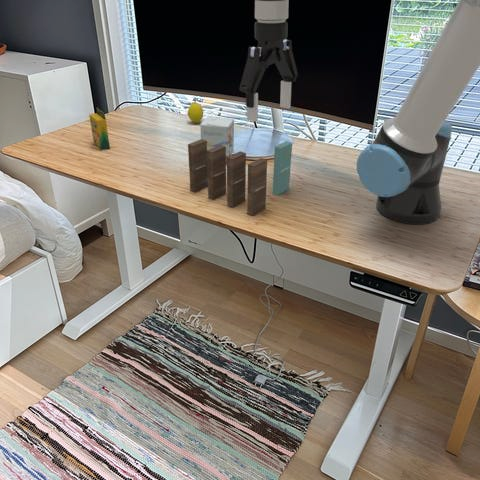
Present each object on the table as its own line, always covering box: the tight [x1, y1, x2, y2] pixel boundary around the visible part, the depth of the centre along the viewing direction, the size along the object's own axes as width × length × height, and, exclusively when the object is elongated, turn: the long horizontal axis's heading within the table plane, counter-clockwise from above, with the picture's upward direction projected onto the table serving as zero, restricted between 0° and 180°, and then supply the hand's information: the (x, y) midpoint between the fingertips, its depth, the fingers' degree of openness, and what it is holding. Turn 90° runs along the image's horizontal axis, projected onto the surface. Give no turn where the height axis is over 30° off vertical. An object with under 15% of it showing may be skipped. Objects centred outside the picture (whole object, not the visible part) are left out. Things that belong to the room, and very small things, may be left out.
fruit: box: [187, 101, 204, 124], centre depth 174 cm, size 6×6×8 cm
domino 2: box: [207, 145, 227, 201], centre depth 123 cm, size 2×5×13 cm, turn 140°
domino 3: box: [226, 151, 247, 209], centre depth 120 cm, size 2×5×13 cm, turn 140°
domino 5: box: [272, 140, 293, 196], centre depth 126 cm, size 2×5×13 cm, turn 140°
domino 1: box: [187, 138, 208, 193], centre depth 127 cm, size 2×5×13 cm, turn 140°
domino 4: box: [246, 157, 268, 217], centre depth 116 cm, size 2×5×13 cm, turn 140°
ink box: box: [199, 115, 235, 165], centre depth 145 cm, size 9×9×12 cm
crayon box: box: [88, 107, 111, 151], centre depth 153 cm, size 7×3×12 cm, turn 33°
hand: (269, 113), depth 121 cm, fingers open, 13 cm apart
